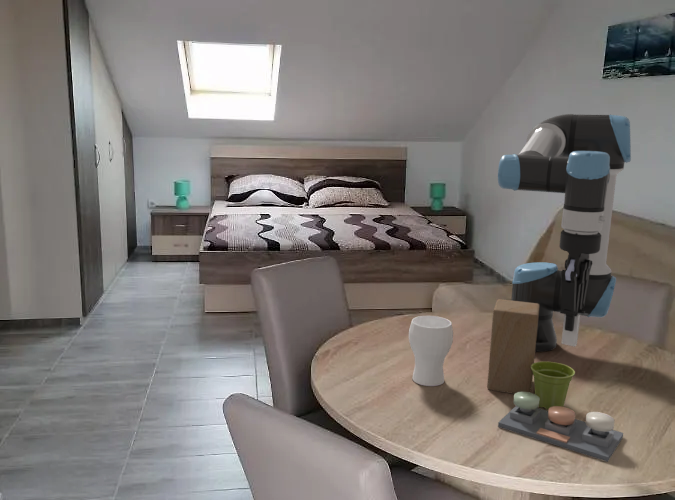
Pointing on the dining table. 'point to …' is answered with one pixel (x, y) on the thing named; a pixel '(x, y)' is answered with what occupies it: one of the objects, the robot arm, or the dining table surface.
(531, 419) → the console
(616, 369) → the dining table surface
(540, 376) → the plant pot
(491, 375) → the wooden block
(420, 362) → the cup
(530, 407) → the button sage
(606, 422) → the button cream
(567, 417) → the button terracotta
